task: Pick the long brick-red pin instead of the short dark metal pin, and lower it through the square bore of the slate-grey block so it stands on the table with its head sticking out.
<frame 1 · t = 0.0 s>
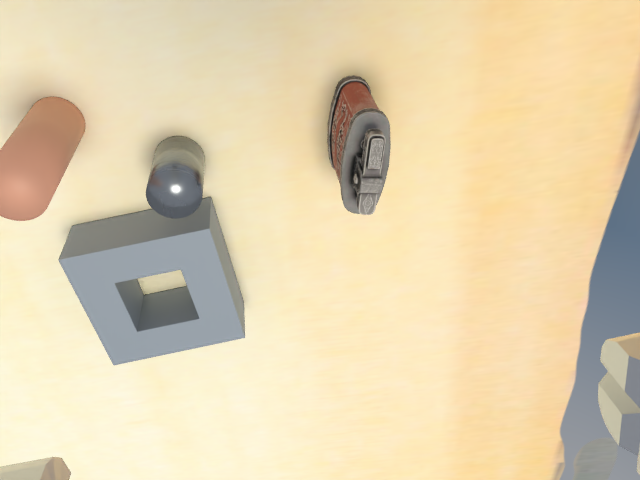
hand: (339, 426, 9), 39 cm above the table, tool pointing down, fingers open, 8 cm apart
short pin: (179, 158, 48), on the table
lighter: (347, 123, 48), on the table
long pin: (57, 122, 45), on the table
bore block: (163, 266, 54), on the table
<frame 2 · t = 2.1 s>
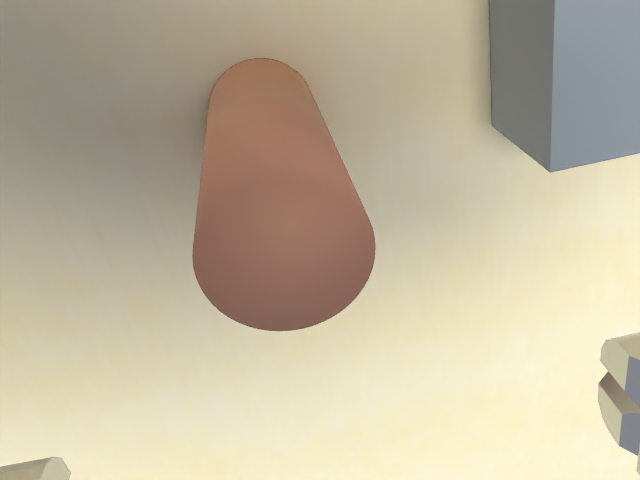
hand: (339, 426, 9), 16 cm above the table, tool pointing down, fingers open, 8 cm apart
long pin: (261, 111, 22), on the table
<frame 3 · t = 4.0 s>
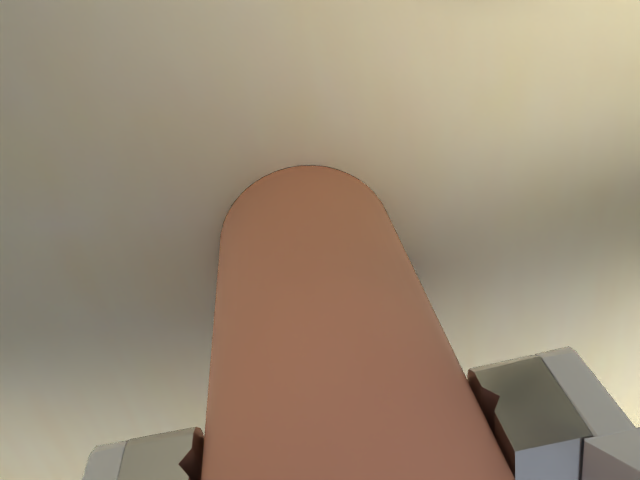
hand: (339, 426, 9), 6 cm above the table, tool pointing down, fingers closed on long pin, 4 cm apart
long pin: (306, 246, 14), on the table, touching gripper
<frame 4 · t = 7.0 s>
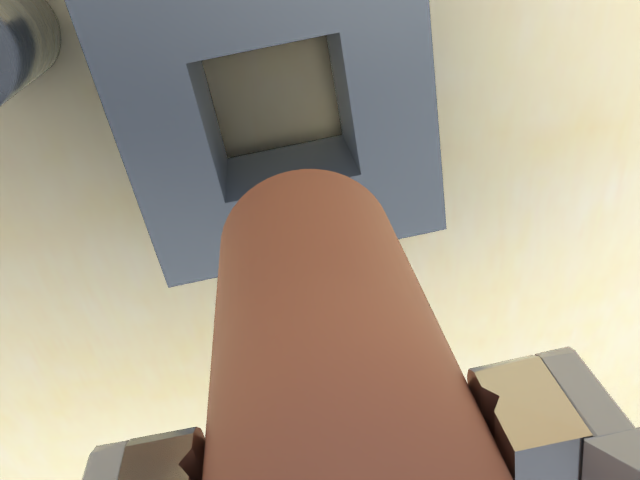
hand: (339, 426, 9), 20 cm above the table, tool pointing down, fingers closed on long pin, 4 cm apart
short pin: (8, 29, 24), on the table
long pin: (307, 249, 14), point 15 cm above the table, touching gripper
bore block: (272, 89, 26), on the table
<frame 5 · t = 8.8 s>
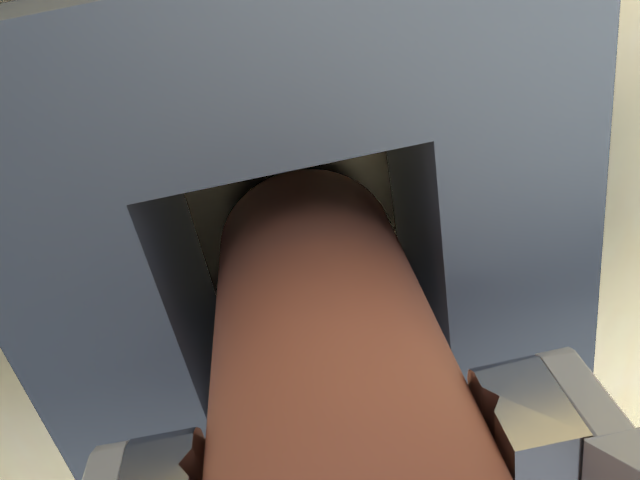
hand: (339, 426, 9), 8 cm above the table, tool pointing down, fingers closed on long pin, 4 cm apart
long pin: (307, 249, 14), point 3 cm above the table, touching gripper
bore block: (290, 196, 16), on the table
when the fingers open (6 cm above the table, at t = 10.3 s): long pin stays where it is, resting in bore block.
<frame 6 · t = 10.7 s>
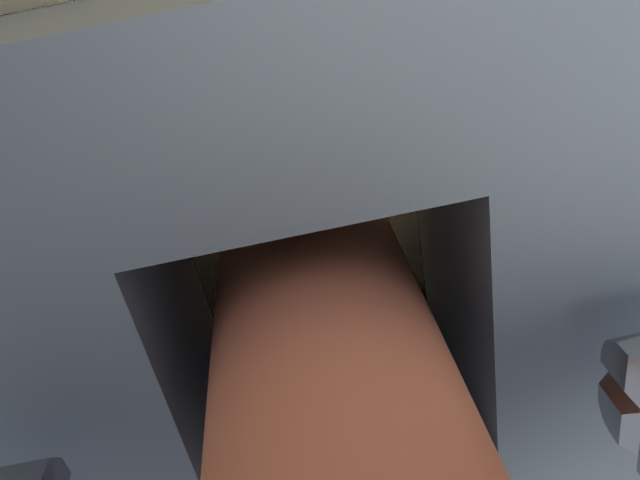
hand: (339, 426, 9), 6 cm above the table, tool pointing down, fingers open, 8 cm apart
long pin: (304, 238, 14), resting in bore block
bore block: (306, 236, 14), on the table
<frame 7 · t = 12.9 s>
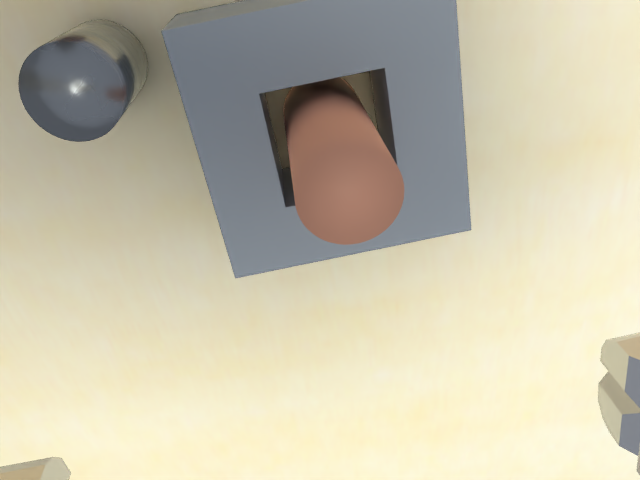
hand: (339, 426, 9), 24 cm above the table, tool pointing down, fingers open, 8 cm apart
short pin: (105, 62, 29), on the table
long pin: (321, 111, 31), resting in bore block
bore block: (322, 110, 31), on the table
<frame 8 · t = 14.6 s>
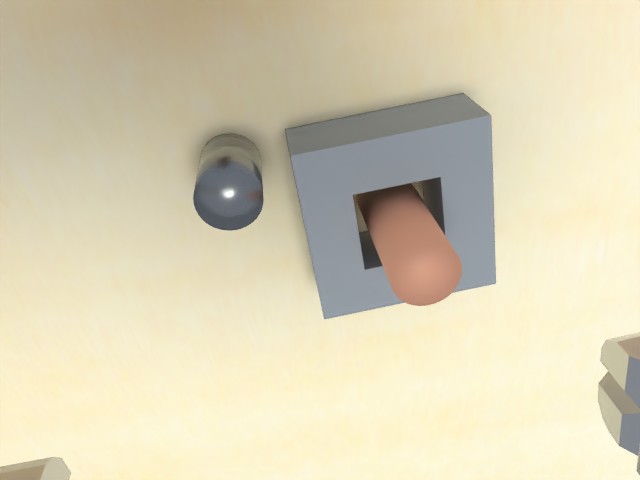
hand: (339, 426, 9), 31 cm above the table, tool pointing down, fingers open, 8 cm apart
short pin: (230, 162, 39), on the table
long pin: (384, 193, 42), resting in bore block
bore block: (384, 193, 42), on the table
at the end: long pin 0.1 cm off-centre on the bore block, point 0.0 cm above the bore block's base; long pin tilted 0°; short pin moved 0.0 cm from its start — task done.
